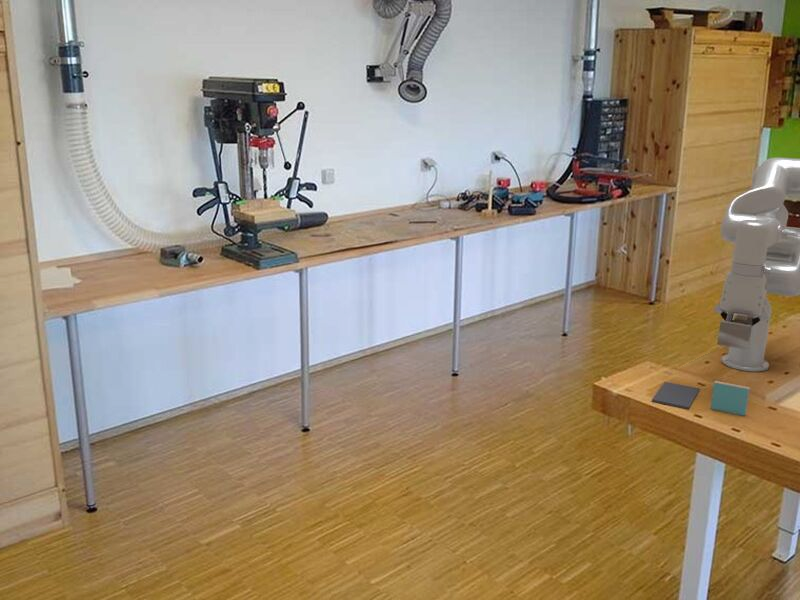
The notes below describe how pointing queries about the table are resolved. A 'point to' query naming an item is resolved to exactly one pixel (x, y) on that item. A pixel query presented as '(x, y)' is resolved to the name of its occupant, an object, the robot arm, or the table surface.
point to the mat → (676, 395)
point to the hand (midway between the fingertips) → (737, 338)
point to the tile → (730, 398)
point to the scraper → (734, 333)
